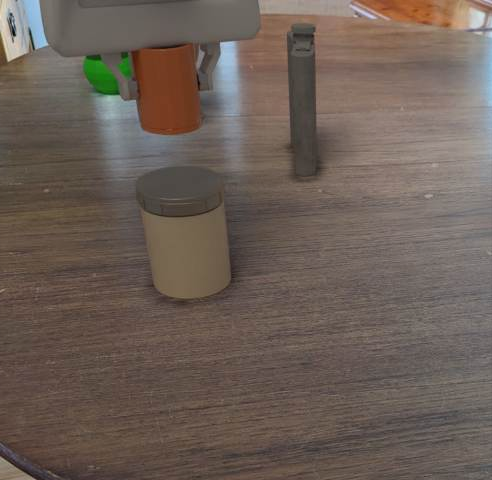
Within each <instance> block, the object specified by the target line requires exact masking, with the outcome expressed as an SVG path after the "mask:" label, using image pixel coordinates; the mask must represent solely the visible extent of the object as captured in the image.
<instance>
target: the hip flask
mask: <svg viewBox="0 0 492 480" xmlns="http://www.w3.org/2000/svg"><path fill="white" fill-rule="evenodd" d="M316 29H317V26H316V25H315V24H313V23H308V22H296V23H292V24H290V30H288V31H287V32H286V51H287V52H286V53H287V54H286V55H287V77H288V79H287V81H288V83H287V84H288V104H289V105H288V106H289V107H288V109H289V133H290V145H291V146H292V148H293V161H294V163H293V164H294V166H293V167H294V174H295V175H296V176H298V177H311V176H314V175H315V174H316V171H317V168H318V167H317V166H318V146H317V145H318V144H317V143H318V142H317V139H318V138H317V137H318V136H317V135H318V134H317V85H316V84H317V81H316V80H317V77H316V73H317V72H316V71H317V70H316V44H315V40H316V39H315V34H314V33H316V32H317V30H316Z"/></svg>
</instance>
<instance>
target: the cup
mask: <svg viewBox="0 0 492 480" xmlns="http://www.w3.org/2000/svg"><path fill="white" fill-rule="evenodd" d="M128 56H129V62H130V68H131V74H132V78H133V79H134V80H136V81H137V83H138V93H139V95H140V99H136V100H135V104H136V109H137V116H138V121H139V124H140V125H139V126H140V128H141V129H142V131H144V132H146V133H148V134H153V135H160V136H179V135H185V134H189V133H192V132H196V131H198V130H199V129H201V128H202V126H203V119H202V112H203V111H202V105H201V96H200V91H199V86H198V77H197V69H198V67H197V63H196V59H195V50H194V45H193V44H186V45H185V46H180V47H170V48H160V49H148V48H144V49H140V50H138V51H129V52H128Z"/></svg>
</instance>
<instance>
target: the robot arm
mask: <svg viewBox="0 0 492 480" xmlns="http://www.w3.org/2000/svg"><path fill="white" fill-rule="evenodd" d="M38 2H39V12H40V17H41V24H42V30H43V34H44V38H45V41H46V43H47V44H48V46H49V48H51V49H52V50H53V51H54V52H56V53H57V54H58V55H60V56H61V57H63V58H66V59H67V58H68V59H69V58H76V57H77V58H79V57H85V56H89V55H99V54H101V59H102V62H103V63H104V64H105V66H106V67H107V68H108V69H109V71H110V72H111V73H112V74H113V76H114V77H115V78H116V79H117V81H118V87H119V93H118V94H119V96H120V99H122V101H124V102H129V101H136V99H140V95H139V93H138V83H137V81H136V80H134V79H133V78H132V77H125V76H124V75H123V73H122V72H121V71H120V69H119V68H118V67H117V66H116V64H117V65H121V64H122V58H121V52H129V51H138V50H140V49H144V48H148V49H160V48H170V47H180V46H185V45H186V44H193V45H199V51H202V52H204V54H203V56H202V60H201V62H200V65H199V68H197V77H198V86H199V92H206V91H207V92H208V91H213V89H214V82H213V73H214V71H215V68H216V67H217V64H218V62H219V60H220V58H221V55H222V52H221V50H222V49H221V43H229V42H239V41H250V40H255V39H256V38H257V37H258V34H259V33H260V31H261V29H262V18H261V10H260V3H259V0H38Z"/></svg>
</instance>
